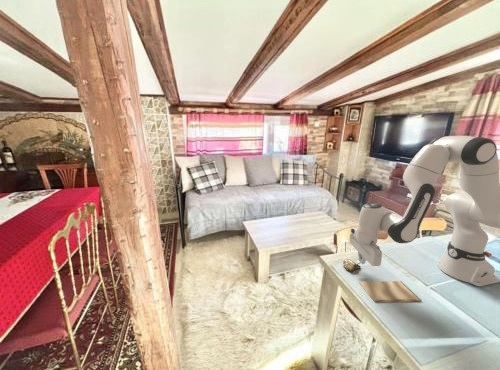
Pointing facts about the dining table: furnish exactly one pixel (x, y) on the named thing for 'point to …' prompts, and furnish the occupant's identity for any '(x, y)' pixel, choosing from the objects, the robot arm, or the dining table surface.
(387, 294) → the mat
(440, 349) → the dining table surface
